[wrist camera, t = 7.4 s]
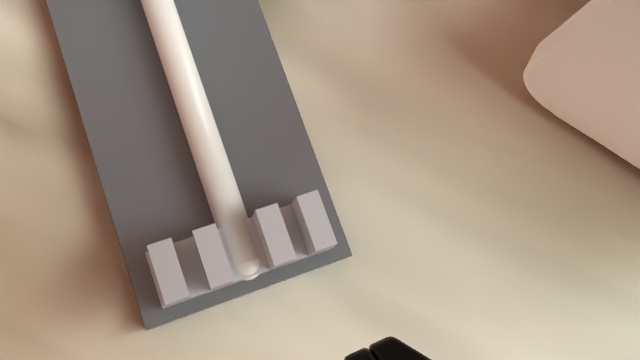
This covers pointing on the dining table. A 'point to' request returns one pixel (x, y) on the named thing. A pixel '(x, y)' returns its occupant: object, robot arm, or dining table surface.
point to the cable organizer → (594, 74)
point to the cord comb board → (196, 149)
